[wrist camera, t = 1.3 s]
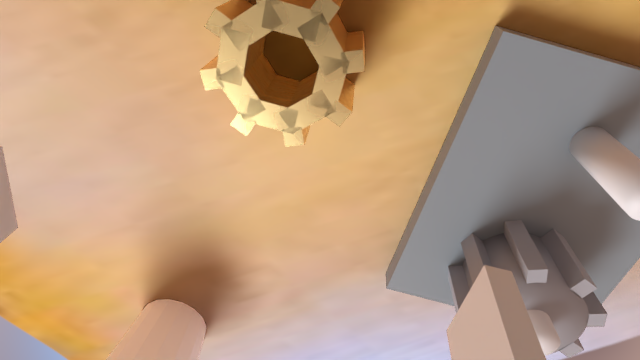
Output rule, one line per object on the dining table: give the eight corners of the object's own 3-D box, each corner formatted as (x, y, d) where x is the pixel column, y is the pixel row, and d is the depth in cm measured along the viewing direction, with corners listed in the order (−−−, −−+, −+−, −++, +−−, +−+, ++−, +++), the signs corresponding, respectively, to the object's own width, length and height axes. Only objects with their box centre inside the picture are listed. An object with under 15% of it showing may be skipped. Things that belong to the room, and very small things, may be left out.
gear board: (495, 25, 23) (547, 62, 16) (742, 96, 23) (888, 159, 17) (385, 273, 32) (390, 361, 25) (565, 320, 32) (616, 418, 26)
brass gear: (238, -44, 22) (211, -40, 18) (380, -4, 22) (383, 10, 19) (219, 93, 26) (194, 122, 22) (341, 127, 26) (337, 160, 22)
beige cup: (216, 355, 38) (187, 434, 32) (140, 346, 38) (98, 423, 32) (210, 298, 35) (177, 375, 29) (127, 288, 35) (77, 363, 29)
